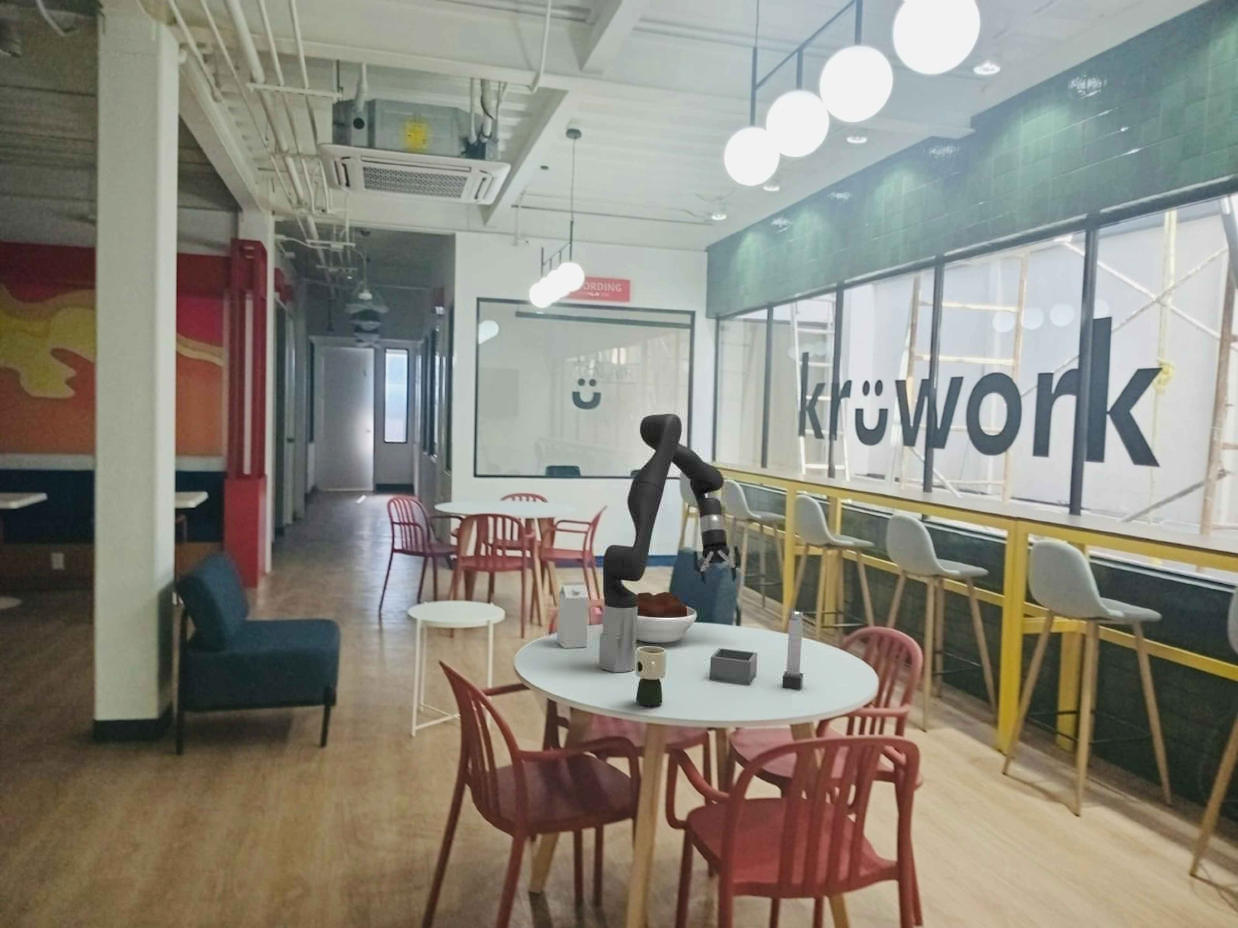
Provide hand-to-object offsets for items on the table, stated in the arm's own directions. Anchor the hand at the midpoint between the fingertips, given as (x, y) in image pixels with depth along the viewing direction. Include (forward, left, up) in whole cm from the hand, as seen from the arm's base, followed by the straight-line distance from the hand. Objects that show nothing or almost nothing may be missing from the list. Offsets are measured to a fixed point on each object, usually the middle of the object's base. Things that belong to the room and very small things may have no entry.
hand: (719, 582), depth 262 cm
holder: (-24, -21, -20) cm, 38 cm away
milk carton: (-33, +30, -20) cm, 48 cm away
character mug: (-59, -20, -20) cm, 65 cm away
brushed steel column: (-19, -36, -20) cm, 45 cm away
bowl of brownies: (-8, +18, -20) cm, 28 cm away
